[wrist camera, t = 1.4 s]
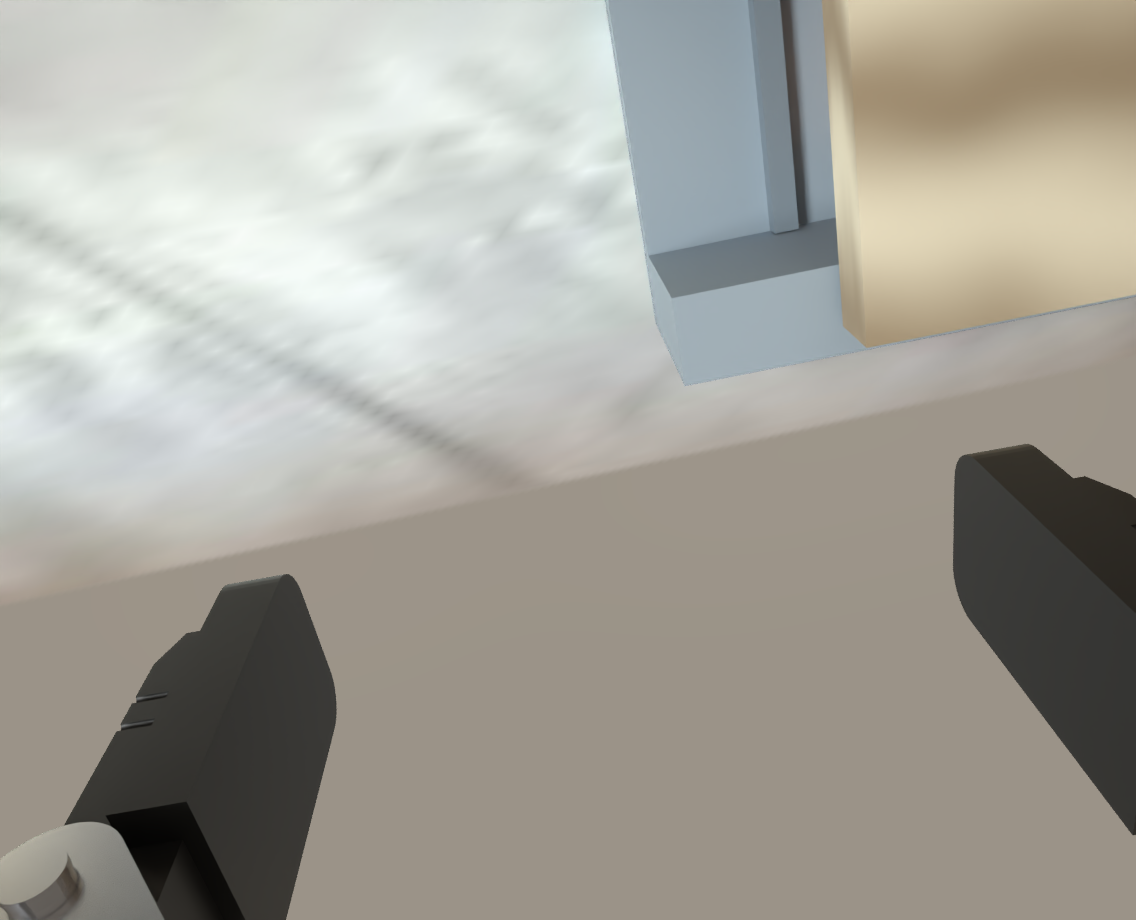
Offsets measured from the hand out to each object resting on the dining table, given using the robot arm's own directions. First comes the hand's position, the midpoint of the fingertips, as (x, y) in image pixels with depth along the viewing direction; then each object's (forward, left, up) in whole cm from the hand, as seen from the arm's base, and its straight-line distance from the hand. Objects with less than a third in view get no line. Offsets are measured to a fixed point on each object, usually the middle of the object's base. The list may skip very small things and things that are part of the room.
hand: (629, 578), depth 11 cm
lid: (-3, +12, -16) cm, 20 cm away
